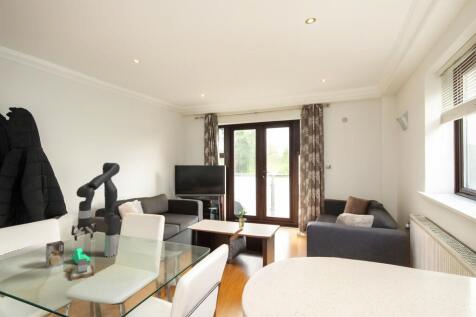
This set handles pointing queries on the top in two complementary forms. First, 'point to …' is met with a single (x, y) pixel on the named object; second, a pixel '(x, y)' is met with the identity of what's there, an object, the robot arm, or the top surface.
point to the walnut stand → (75, 275)
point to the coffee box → (54, 254)
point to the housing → (82, 265)
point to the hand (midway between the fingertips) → (83, 239)
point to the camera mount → (79, 255)
